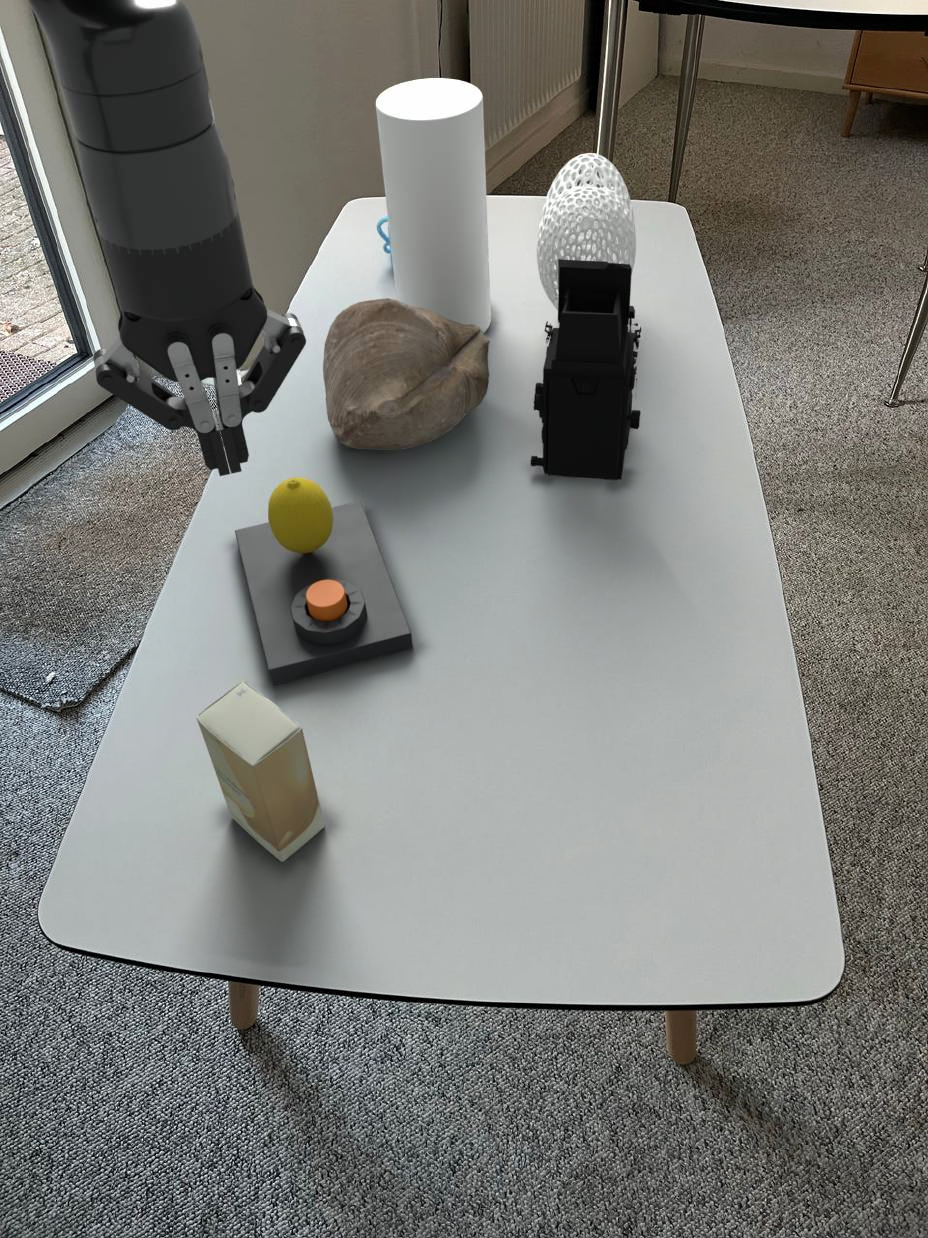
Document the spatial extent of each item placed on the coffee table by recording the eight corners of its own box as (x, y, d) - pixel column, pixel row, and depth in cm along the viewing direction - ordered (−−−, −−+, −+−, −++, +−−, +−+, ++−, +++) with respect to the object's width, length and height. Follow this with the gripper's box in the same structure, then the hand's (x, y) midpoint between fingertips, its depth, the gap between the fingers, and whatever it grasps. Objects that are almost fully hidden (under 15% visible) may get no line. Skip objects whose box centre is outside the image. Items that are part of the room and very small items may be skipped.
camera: (642, 404, 111) (657, 220, 97) (632, 488, 102) (648, 298, 88) (546, 398, 113) (547, 216, 98) (529, 480, 104) (527, 292, 89)
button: (313, 625, 88) (309, 611, 86) (305, 599, 90) (302, 584, 89) (351, 616, 88) (348, 601, 87) (342, 590, 90) (339, 575, 89)
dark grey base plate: (272, 685, 88) (264, 657, 85) (238, 545, 100) (230, 516, 97) (413, 648, 90) (409, 619, 87) (363, 515, 102) (358, 486, 99)
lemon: (269, 569, 94) (252, 499, 89) (287, 527, 98) (271, 458, 92) (330, 574, 94) (316, 504, 88) (345, 531, 97) (332, 462, 92)
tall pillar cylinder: (384, 337, 123) (357, 113, 105) (422, 291, 129) (402, 72, 111) (470, 353, 120) (457, 125, 101) (504, 305, 126) (498, 82, 108)
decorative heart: (631, 366, 116) (642, 215, 104) (533, 365, 117) (532, 215, 105) (629, 281, 129) (639, 136, 116) (540, 280, 130) (540, 138, 117)
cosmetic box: (228, 816, 79) (189, 714, 70) (273, 779, 81) (241, 675, 72) (284, 867, 76) (251, 766, 67) (330, 827, 78) (303, 724, 69)
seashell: (528, 322, 108) (413, 246, 99) (494, 474, 104) (372, 411, 95) (432, 356, 120) (322, 292, 111) (399, 494, 117) (283, 439, 108)
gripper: (43, 265, 54) (132, 525, 66) (301, 219, 56) (340, 478, 69) (36, 202, 59) (121, 455, 71) (274, 162, 61) (315, 413, 74)
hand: (229, 466), depth 70 cm, fingers closed
